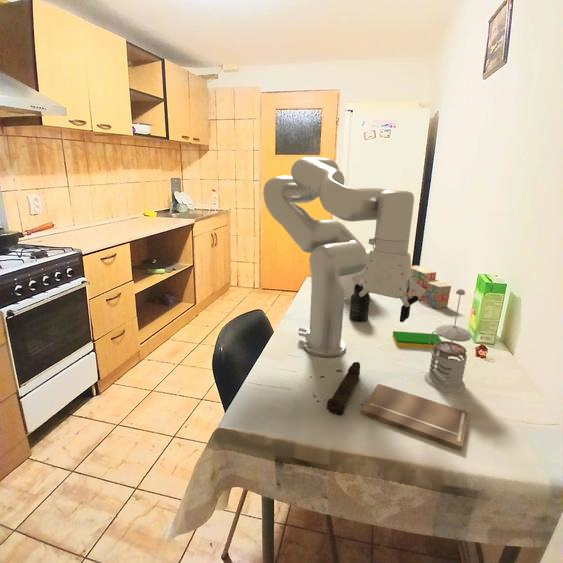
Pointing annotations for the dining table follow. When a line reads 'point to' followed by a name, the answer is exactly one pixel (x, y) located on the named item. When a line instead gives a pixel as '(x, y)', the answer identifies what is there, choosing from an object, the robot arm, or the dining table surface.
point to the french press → (447, 369)
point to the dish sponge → (414, 339)
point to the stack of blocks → (430, 287)
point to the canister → (351, 281)
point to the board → (417, 416)
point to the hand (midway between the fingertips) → (383, 315)
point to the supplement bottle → (357, 308)
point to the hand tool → (344, 390)
